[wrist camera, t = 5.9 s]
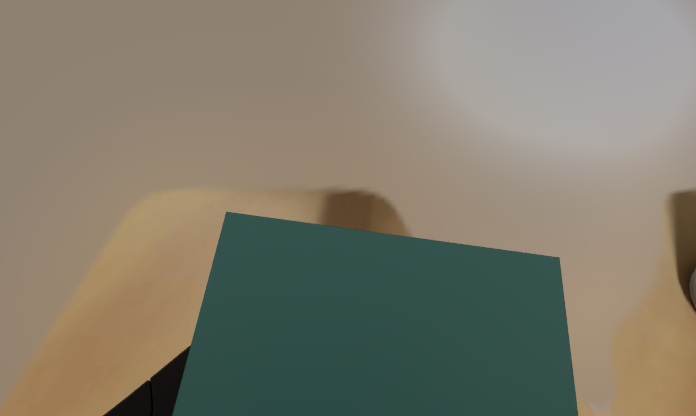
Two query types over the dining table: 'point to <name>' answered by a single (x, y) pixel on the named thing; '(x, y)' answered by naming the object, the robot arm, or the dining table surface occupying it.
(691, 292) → the soda can
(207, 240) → the dining table surface
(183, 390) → the teal brick
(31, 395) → the dining table surface
